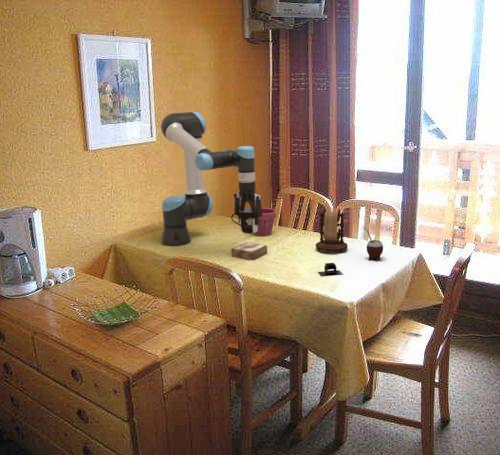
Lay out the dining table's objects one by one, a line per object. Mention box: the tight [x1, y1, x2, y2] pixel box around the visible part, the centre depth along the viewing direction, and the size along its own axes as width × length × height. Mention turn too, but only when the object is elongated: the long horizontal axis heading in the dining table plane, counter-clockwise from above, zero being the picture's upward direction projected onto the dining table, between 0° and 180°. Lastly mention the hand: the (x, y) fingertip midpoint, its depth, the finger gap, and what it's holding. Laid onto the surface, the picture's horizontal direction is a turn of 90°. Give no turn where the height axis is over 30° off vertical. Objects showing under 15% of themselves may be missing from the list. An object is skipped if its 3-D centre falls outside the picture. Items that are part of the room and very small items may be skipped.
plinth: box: [230, 242, 268, 262], centre depth 235 cm, size 12×12×4 cm
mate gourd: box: [362, 226, 384, 262], centre depth 222 cm, size 8×8×15 cm
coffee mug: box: [230, 207, 257, 234], centre depth 232 cm, size 12×9×10 cm
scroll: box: [315, 208, 348, 254], centre depth 237 cm, size 15×15×20 cm
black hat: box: [317, 262, 344, 278], centre depth 208 cm, size 12×7×5 cm, turn 98°
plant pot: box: [253, 207, 277, 237], centre depth 269 cm, size 14×14×13 cm
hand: (248, 230), depth 232 cm, fingers closed on coffee mug, 6 cm apart
